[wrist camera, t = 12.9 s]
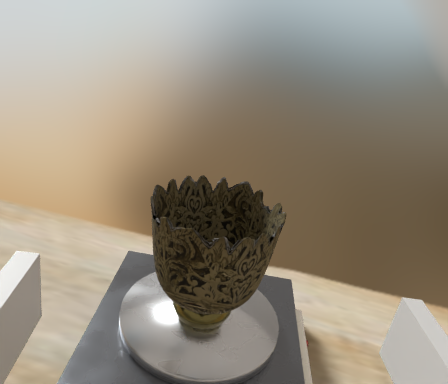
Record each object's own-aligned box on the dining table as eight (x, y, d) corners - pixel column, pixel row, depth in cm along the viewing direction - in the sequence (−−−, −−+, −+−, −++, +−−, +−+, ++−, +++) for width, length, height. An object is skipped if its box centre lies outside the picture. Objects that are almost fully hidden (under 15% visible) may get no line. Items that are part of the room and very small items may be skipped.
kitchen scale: (54, 429, 21) (53, 378, 20) (126, 281, 33) (129, 242, 32) (312, 476, 21) (332, 427, 20) (292, 311, 33) (303, 273, 32)
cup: (281, 342, 24) (313, 227, 21) (165, 375, 21) (182, 243, 18) (226, 270, 30) (244, 171, 27) (128, 287, 27) (135, 176, 24)
